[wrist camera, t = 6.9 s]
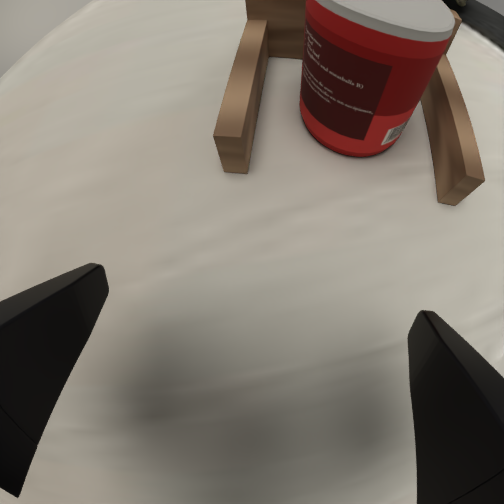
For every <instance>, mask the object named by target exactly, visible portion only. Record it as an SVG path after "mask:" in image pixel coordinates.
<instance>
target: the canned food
mask: <svg viewBox="0 0 504 504" xmlns="http://www.w3.org/2000/svg"><path fill="white" fill-rule="evenodd" d="M454 24H455V19H454V16H453V14H452V12H451V11H450V9H449V8H448V7H447V6H446V4H445V3H444V2H443V1H442V0H306V7H305V28H304V46H303V62H302V77H301V91H300V111H301V114H302V117H303V120H304V122H305V125H306V127H307V128H308V130H309V131H310V133H311V134H312V135H313V136H314V137H315V138H316V139H317V140H318V141H319V142H320V143H322V144H323V145H324V146H326V147H328V148H330V149H331V150H333V151H335V152H338V153H341V154H344V155H349V156H356V157H365V156H371V155H375V154H378V153H380V152H382V151H384V150H385V149H387V148H388V147H390V146H391V145H392V144H394V143H395V142H396V140H397V139H398V138H399V136H400V135H401V133H402V131H403V129H404V128H405V126H406V124H407V122H408V120H409V119H410V117H411V115H412V113H413V111H414V109H415V108H416V106H417V104H418V102H419V100H420V98H421V96H422V95H423V93H424V91H425V89H426V87H427V85H428V83H429V81H430V79H431V77H432V75H433V73H434V71H435V69H436V67H437V65H438V63H439V61H440V59H441V57H442V55H443V53H444V51H445V49H446V46H447V44H448V42H449V40H450V37H451V35H452V31H453V28H454Z"/></svg>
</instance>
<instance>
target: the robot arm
mask: <svg viewBox="0 0 504 504" xmlns="http://www.w3.org/2000/svg"><path fill="white" fill-rule="evenodd" d="M108 293H109V286H108V282H107V278H106V274H105V269H104V267H103V266H102V265H100V264H95V263H89V264H86V265H84V266H81V267H79V268H76V269H74V270H72V271H69V272H67V273H64V274H62V275H60V276H57V277H55V278H53V279H50V280H48V281H46V282H43V283H41V284H39V285H36V286H34V287H32V288H29V289H27V290H25V291H23V292H20V293H18V294H16V295H14V296H11V297H9V298H7V299H5V300H3V301H1V302H0V488H2V489H3V490H5V491H7V492H8V493H10V494H12V495H13V496H15V497H17V498H18V497H19V495H20V493H21V490H22V487H23V484H24V481H25V478H26V476H27V473H28V470H29V467H30V465H31V462H32V459H33V457H34V454H35V452H36V449H37V447H38V446H37V445H38V444H39V441H40V439H41V436H42V434H43V432H44V429H45V427H46V425H47V422H48V420H49V418H50V415H51V413H52V411H53V409H54V407H55V404H56V402H57V400H58V398H59V396H60V394H61V392H62V390H63V387H64V385H65V383H66V381H67V379H68V377H69V375H70V373H71V371H72V369H73V367H74V365H75V363H76V361H77V359H78V358H79V356H80V354H81V352H82V350H83V348H84V346H85V344H86V342H87V341H88V339H89V337H90V335H91V332H92V330H93V328H94V326H95V323H96V321H97V319H98V316H99V314H100V312H101V309H102V307H103V305H104V303H105V301H106V298H107V296H108ZM408 354H409V379H410V392H411V401H412V410H413V420H414V431H415V445H416V464H417V504H504V378H503V377H502V376H501V375H500V374H499V373H498V372H497V371H496V370H495V369H494V368H493V367H492V366H491V365H490V364H489V363H488V362H487V361H486V360H485V359H484V358H483V357H482V356H481V355H480V354H479V353H478V352H477V351H476V350H475V349H474V348H473V347H472V346H471V345H470V344H469V343H468V342H467V341H466V340H464V339H463V338H462V337H461V336H460V335H459V334H458V333H457V332H456V331H455V330H454V329H453V328H452V327H450V326H449V325H448V324H447V323H446V322H445V321H444V320H443V319H442V318H441V317H439V316H438V315H437V314H436V313H435V312H433V311H427V310H421V311H420V312H419V313H418V314H417V316H416V318H415V320H414V323H413V325H412V327H411V329H410V331H409V334H408Z"/></svg>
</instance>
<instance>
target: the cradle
mask: <svg viewBox="0 0 504 504" xmlns="http://www.w3.org/2000/svg"><path fill="white" fill-rule="evenodd" d="M245 2H246V11H247V23H246V26H245V29H244V32H243V35H242V38H241V41H240V44H239V47H238V50H237V54H236V57H235V60H234V63H233V67H232V70H231V73H230V77H229V80H228V83H227V87H226V90H225V94H224V97H223V101H222V104H221V108H220V112H219V115H218V119H217V123H216V127H215V130H214V134H213V137H214V140H215V144H216V147H217V150H218V154H219V157H220V160H221V163H222V167H223V170H224V172H232V173H244V174H247V172H248V167H249V161H250V155H251V150H252V144H253V139H254V133H255V127H256V122H257V116H258V111H259V106H260V100H261V95H262V89H263V84H264V79H265V74H266V68H267V63H268V58H269V57H284V58H295V59H303V46H304V28H305V7H306V0H245ZM450 11H451V12H452V14H453V16H454V19H455V24H454V28H453V31H452V35H451V37H450V40H449V42H448V44H447V46H446V49H445V51H444V53H443V55H442V57H441V59H440V61H439V63H438V65H437V67H436V69H435V71H434V73H433V75H432V77H431V79H430V81H429V83H428V85H427V87H426V89H425V91H424V93H423V95H422V96H421V102H422V107H423V111H424V115H425V120H426V125H427V130H428V135H429V140H430V146H431V152H432V158H433V165H434V172H435V179H436V188H437V197H438V202H440V203H444V204H449V205H453V206H456V205H457V204H458V203H459V202H461V201H462V200H463V199H464V198H465V197H467V196H468V195H469V194H470V193H471V192H473V191H474V190H475V189H476V188H477V187H478V186H480V185H481V184H482V183H483V182H484V181H485V178H484V173H483V168H482V163H481V159H480V155H479V150H478V146H477V143H476V139H475V135H474V132H473V128H472V125H471V121H470V118H469V115H468V112H467V109H466V105H465V103H464V100H463V97H462V94H461V91H460V88H459V86H458V83H457V81H456V78H455V75H454V73H453V70H452V68H451V66H450V63H449V61H448V59H447V56H446V54H447V52H448V49H449V47H450V45H451V43H452V41H453V39H454V37H455V35H456V33H457V30H458V28H459V26H460V24H461V22H462V20H461V18H460V17H459V15H458V14H457V13H456V11H453V10H451V9H450Z"/></svg>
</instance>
